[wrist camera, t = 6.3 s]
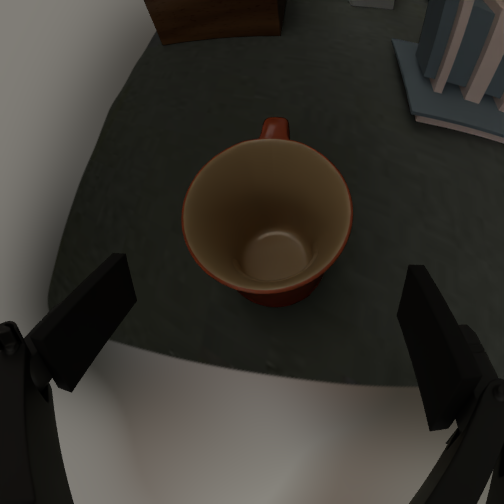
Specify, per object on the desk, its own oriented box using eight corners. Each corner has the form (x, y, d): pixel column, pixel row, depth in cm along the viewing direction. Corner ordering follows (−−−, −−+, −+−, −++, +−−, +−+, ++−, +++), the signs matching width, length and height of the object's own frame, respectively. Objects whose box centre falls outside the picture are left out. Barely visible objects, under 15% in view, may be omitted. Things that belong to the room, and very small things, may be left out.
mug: (328, 323, 23) (352, 299, 14) (216, 313, 25) (166, 284, 15) (333, 184, 27) (346, 101, 17) (235, 180, 28) (208, 100, 19)
